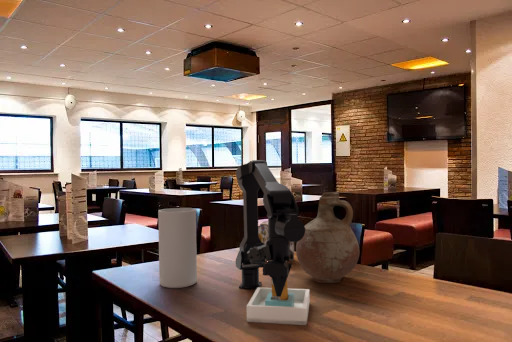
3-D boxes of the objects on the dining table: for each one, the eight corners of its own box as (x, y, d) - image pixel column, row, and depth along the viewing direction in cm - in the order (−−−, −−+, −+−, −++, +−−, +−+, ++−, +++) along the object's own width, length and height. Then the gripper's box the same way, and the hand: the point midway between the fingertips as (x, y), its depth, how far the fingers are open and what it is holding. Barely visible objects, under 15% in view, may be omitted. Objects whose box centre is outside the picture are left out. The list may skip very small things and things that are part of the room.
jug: (303, 269, 151) (302, 190, 151) (362, 273, 144) (361, 191, 144) (289, 285, 131) (288, 194, 131) (356, 291, 124) (355, 195, 123)
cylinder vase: (170, 291, 127) (169, 212, 127) (153, 283, 136) (152, 210, 136) (203, 283, 135) (202, 209, 135) (185, 276, 144) (184, 207, 144)
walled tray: (257, 300, 116) (257, 287, 116) (309, 303, 114) (309, 289, 114) (246, 321, 101) (246, 306, 101) (306, 325, 98) (306, 308, 98)
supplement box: (278, 301, 110) (277, 265, 110) (288, 304, 108) (288, 267, 107) (271, 305, 107) (270, 268, 107) (281, 308, 105) (280, 270, 105)
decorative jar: (276, 255, 177) (275, 214, 177) (295, 259, 168) (294, 217, 168) (255, 259, 170) (255, 217, 169) (274, 264, 161) (273, 219, 160)
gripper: (255, 229, 118) (256, 282, 118) (242, 241, 99) (243, 304, 100) (293, 230, 116) (294, 283, 116) (286, 242, 97) (287, 306, 98)
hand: (279, 293), depth 107 cm, fingers closed on supplement box, 4 cm apart
